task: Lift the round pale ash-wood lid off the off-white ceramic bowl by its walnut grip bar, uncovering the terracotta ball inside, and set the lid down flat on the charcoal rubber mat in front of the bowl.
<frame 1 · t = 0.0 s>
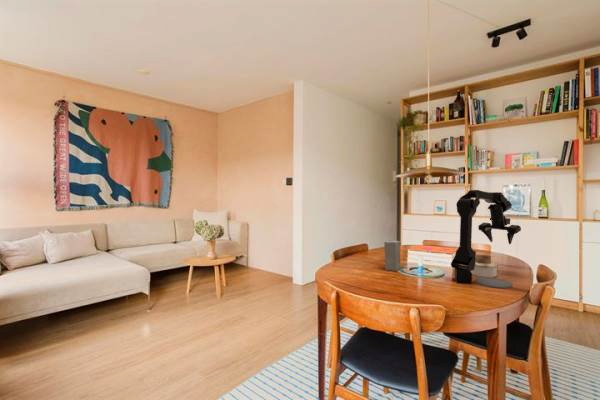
hand: (500, 242, 161), 15 cm above the table, tool pointing down, fingers open, 9 cm apart
skincare box: (392, 269, 169), on the table
ball: (483, 268, 156), point 3 cm above the table, touching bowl
mat: (493, 283, 141), on the table
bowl: (483, 274, 156), on the table
lid: (483, 264, 156), point 5 cm above the table, touching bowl
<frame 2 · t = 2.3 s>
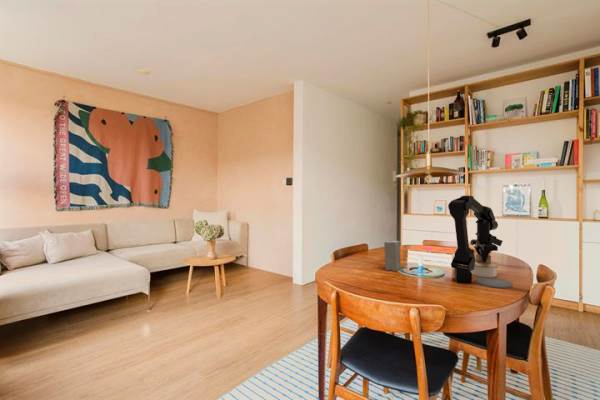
hand: (483, 261, 156), 7 cm above the table, tool pointing down, fingers closed on lid, 3 cm apart
lid: (483, 264, 156), point 5 cm above the table, touching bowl, gripper
everything else where it was.
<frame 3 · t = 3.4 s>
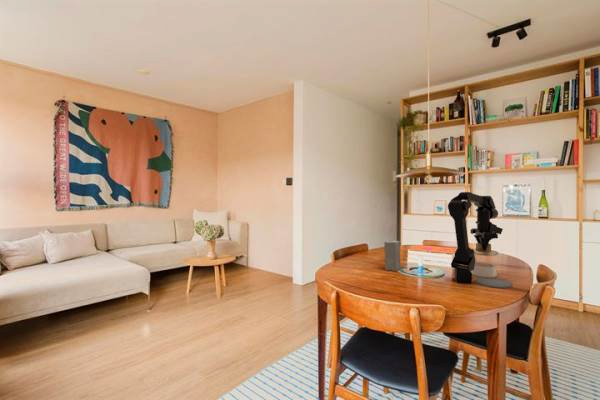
hand: (483, 249, 156), 13 cm above the table, tool pointing down, fingers closed on lid, 3 cm apart
lid: (483, 253, 156), point 11 cm above the table, touching gripper
everything else where it was.
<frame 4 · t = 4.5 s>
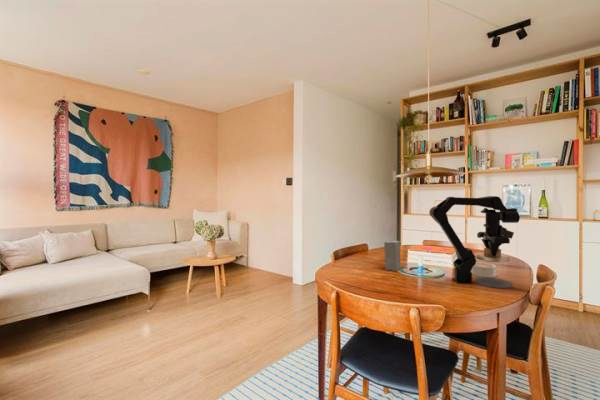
hand: (492, 255, 142), 13 cm above the table, tool pointing down, fingers closed on lid, 3 cm apart
lid: (492, 259, 142), point 11 cm above the table, touching gripper
everything else where it was.
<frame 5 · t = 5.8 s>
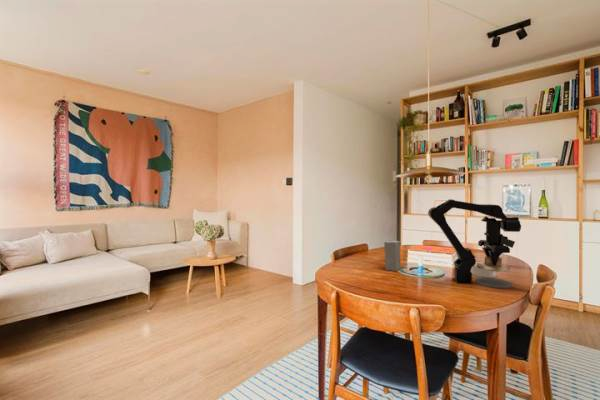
hand: (492, 264, 141), 9 cm above the table, tool pointing down, fingers closed on lid, 3 cm apart
lid: (493, 268, 141), point 7 cm above the table, touching gripper
everything else where it was.
when the fingers open (4 cm above the table, at t = 6.9 s): lid drops 1 cm, resting on mat.
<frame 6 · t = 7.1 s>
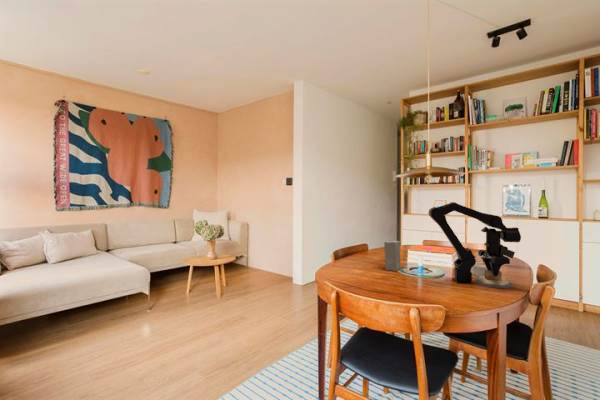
hand: (492, 274, 141), 4 cm above the table, tool pointing down, fingers open, 5 cm apart
lid: (493, 281, 141), point 1 cm above the table, touching mat
everything else where it was.
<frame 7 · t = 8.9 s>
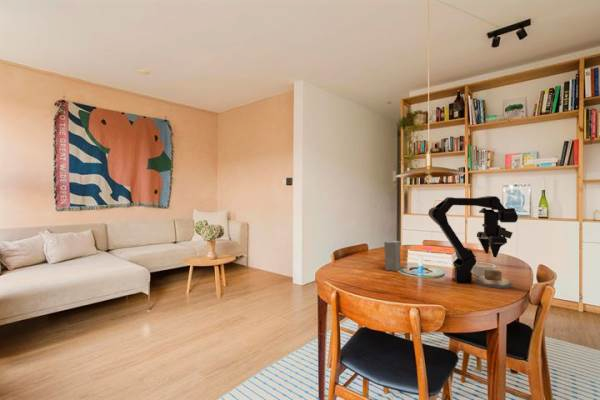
hand: (490, 255, 142), 13 cm above the table, tool pointing down, fingers open, 9 cm apart
nothing on the table moved.
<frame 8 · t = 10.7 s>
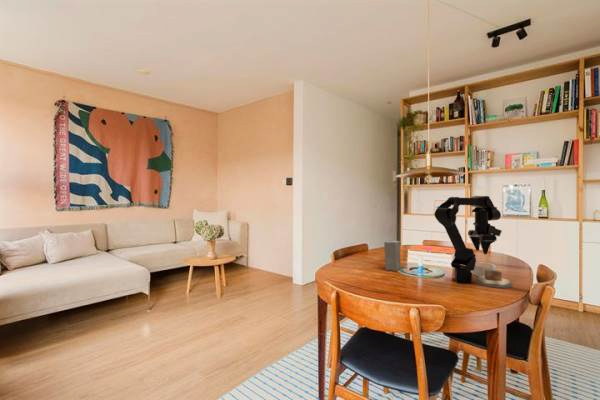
hand: (481, 252, 149), 13 cm above the table, tool pointing down, fingers open, 9 cm apart
nothing on the table moved.
at the end: lid 0.0 cm off-centre on the mat, point 0.8 cm above the mat's base; lid tilted 0°; the gripper is holding nothing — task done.
